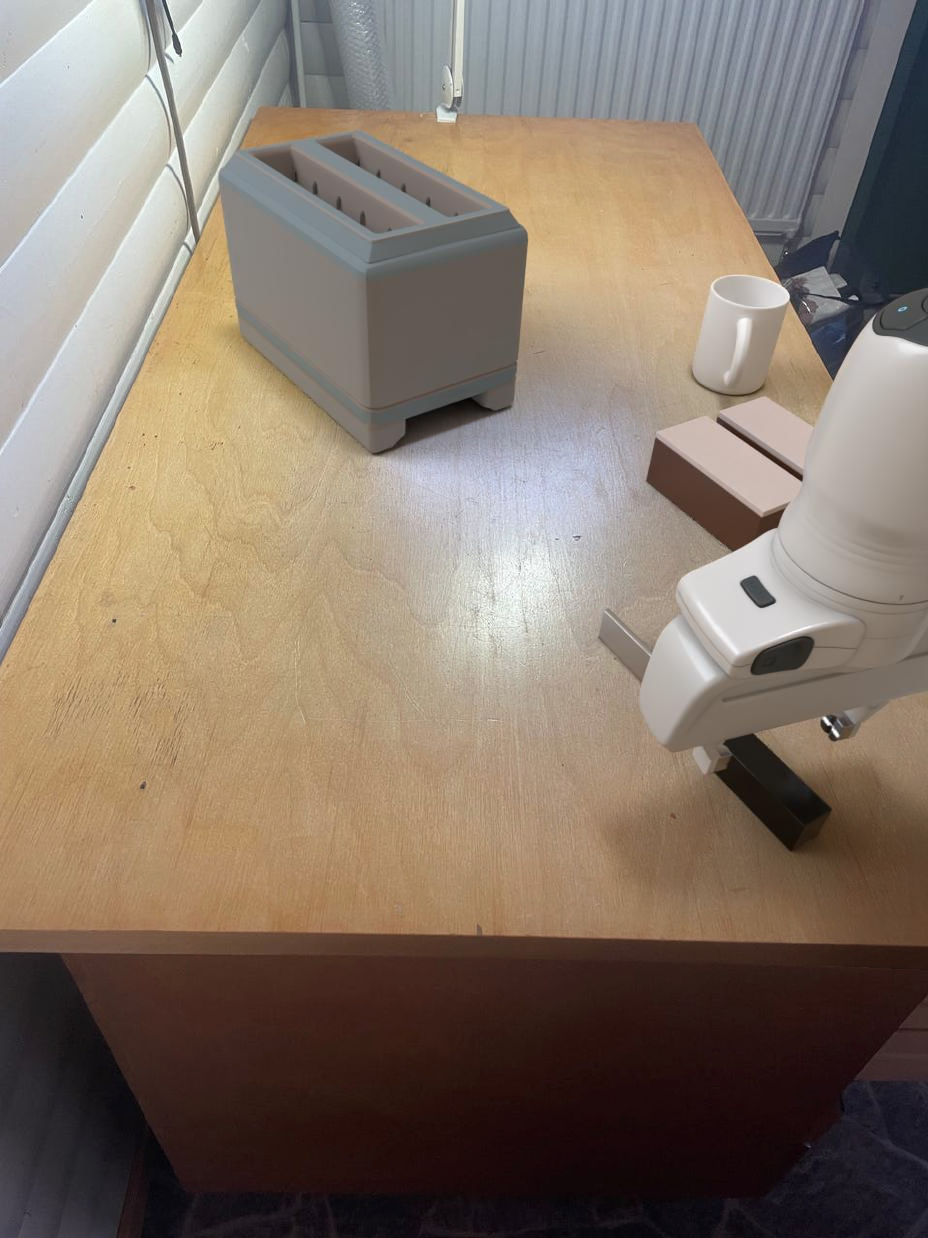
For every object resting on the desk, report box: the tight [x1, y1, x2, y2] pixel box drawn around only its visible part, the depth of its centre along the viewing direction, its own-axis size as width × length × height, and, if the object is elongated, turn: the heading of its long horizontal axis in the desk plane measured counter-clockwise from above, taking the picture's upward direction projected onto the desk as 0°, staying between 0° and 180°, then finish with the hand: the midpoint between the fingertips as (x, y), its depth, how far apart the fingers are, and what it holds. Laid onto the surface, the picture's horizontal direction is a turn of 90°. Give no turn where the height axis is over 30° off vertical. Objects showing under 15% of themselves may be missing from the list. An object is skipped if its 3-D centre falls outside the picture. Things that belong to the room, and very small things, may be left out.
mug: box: [692, 274, 791, 396], centre depth 99 cm, size 12×8×10 cm
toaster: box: [217, 129, 529, 454], centre depth 96 cm, size 19×33×20 cm, turn 36°
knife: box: [598, 607, 833, 853], centre depth 65 cm, size 22×3×3 cm, turn 31°
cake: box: [645, 395, 814, 552], centre depth 85 cm, size 14×14×6 cm
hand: (773, 747), depth 59 cm, fingers open, 8 cm apart
